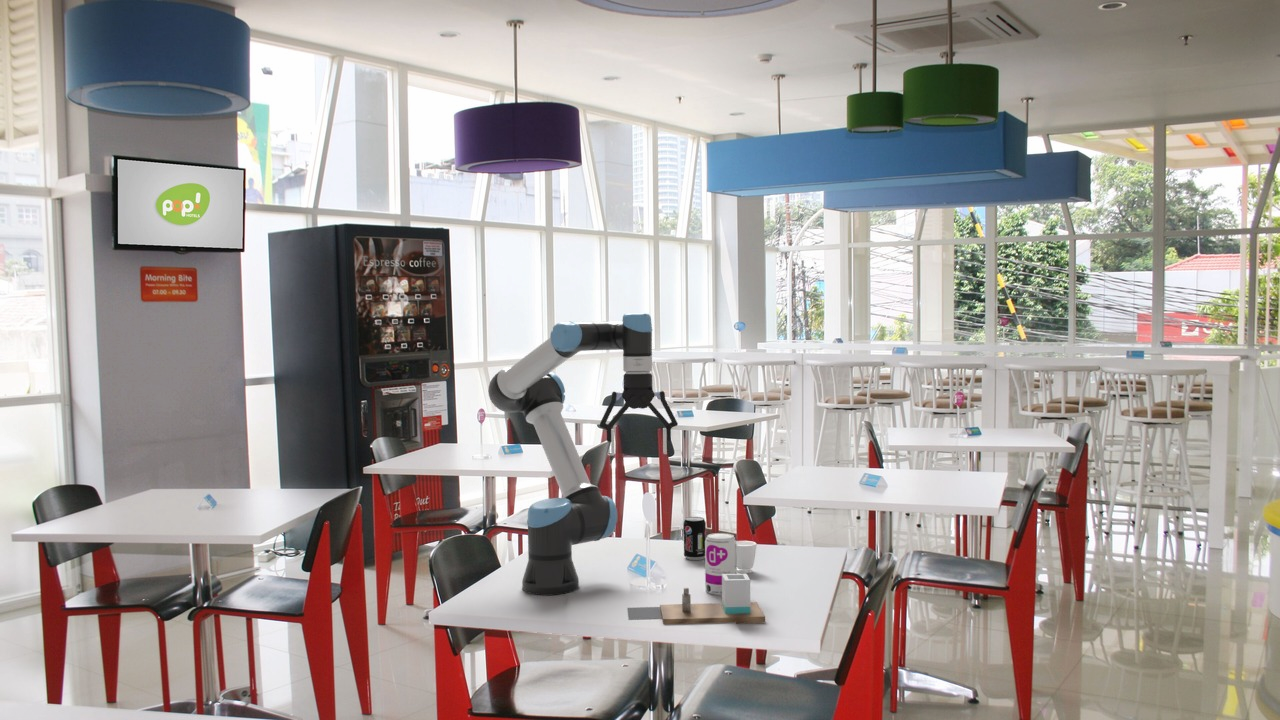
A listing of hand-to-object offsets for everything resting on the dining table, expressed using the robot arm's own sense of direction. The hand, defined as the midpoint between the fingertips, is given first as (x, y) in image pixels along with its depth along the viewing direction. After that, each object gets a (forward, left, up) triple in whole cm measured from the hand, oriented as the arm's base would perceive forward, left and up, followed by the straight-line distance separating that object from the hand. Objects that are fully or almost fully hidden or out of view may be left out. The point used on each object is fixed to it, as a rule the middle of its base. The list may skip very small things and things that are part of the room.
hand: (639, 454), depth 256 cm
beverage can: (+18, +38, -37) cm, 56 cm away
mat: (+1, -19, -37) cm, 41 cm away
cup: (+29, +21, -37) cm, 51 cm away
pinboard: (+16, -22, -37) cm, 46 cm away
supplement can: (+21, -1, -37) cm, 42 cm away
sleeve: (+22, -22, -35) cm, 47 cm away
